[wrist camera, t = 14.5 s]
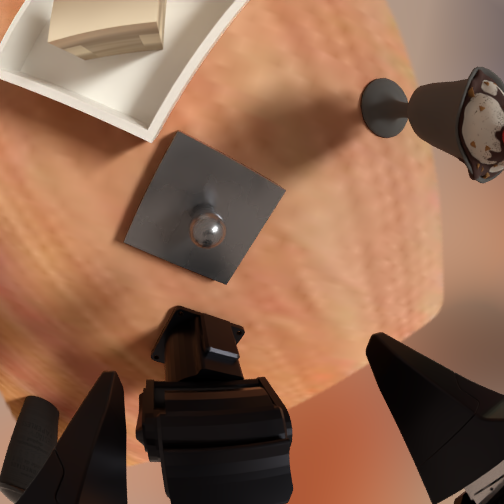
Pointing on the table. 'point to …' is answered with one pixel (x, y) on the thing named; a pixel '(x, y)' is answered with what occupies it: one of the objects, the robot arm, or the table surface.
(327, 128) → the table surface
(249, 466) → the robot arm
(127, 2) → the socket block
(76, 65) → the bin
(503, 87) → the sundae
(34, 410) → the drinking cup
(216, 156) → the stud plate
